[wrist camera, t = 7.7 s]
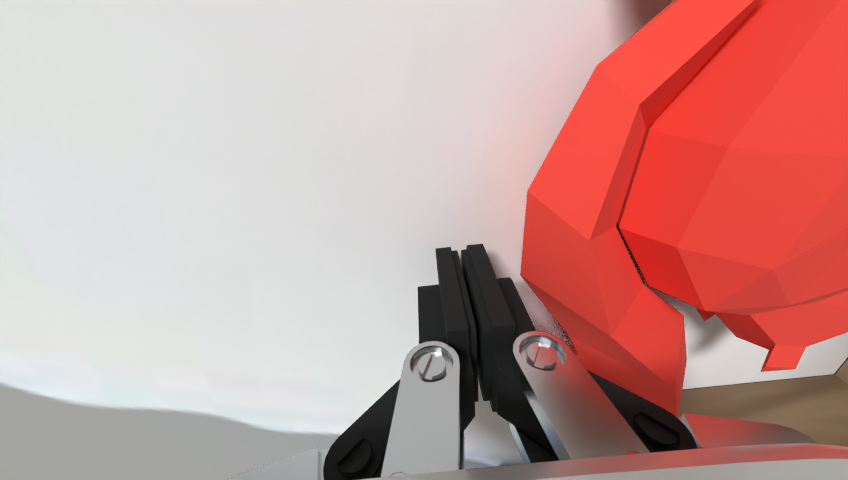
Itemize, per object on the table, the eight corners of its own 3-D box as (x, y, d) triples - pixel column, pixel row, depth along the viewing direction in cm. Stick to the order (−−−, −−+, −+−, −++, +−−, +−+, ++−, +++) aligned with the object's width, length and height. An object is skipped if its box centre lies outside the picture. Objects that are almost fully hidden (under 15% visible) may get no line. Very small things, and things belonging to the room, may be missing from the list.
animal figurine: (465, 362, 16) (484, 479, 11) (540, -17, 8) (683, -107, 4) (683, 367, 16) (782, 481, 12) (936, 19, 9) (1451, -22, 4)
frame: (598, -194, 7) (755, -413, 4) (1455, -319, 6) (2450, -686, 3) (534, 417, 18) (559, 491, 15) (845, 386, 17) (939, 455, 14)
